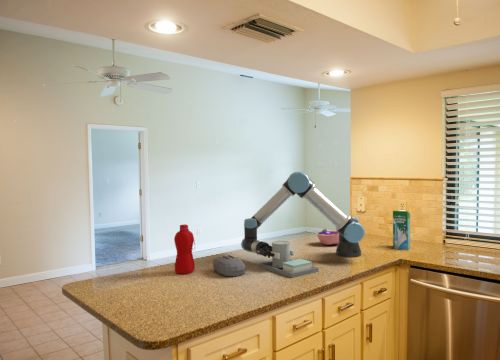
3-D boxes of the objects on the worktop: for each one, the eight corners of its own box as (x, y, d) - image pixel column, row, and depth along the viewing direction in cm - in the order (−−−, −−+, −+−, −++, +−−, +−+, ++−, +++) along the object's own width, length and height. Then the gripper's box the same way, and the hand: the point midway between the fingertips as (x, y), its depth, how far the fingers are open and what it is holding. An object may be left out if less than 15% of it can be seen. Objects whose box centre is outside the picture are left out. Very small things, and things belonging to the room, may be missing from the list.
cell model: (347, 247, 256) (347, 230, 255) (318, 247, 256) (317, 230, 255) (342, 242, 272) (341, 226, 272) (314, 242, 273) (313, 227, 272)
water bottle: (191, 275, 192) (190, 226, 192) (172, 273, 196) (171, 225, 195) (199, 270, 201) (198, 223, 200) (181, 269, 205) (180, 223, 204)
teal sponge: (282, 272, 191) (282, 262, 191) (300, 268, 198) (300, 258, 198) (293, 276, 184) (293, 265, 184) (312, 271, 192) (311, 261, 191)
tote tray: (259, 269, 203) (259, 263, 202) (285, 263, 213) (284, 258, 213) (291, 279, 181) (291, 273, 181) (318, 273, 192) (318, 267, 192)
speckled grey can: (278, 268, 195) (277, 244, 195) (268, 264, 204) (268, 241, 203) (293, 266, 200) (293, 243, 199) (283, 262, 208) (283, 240, 208)
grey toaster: (209, 270, 202) (224, 279, 185) (208, 254, 202) (224, 262, 184) (234, 266, 209) (251, 275, 192) (234, 251, 209) (251, 258, 192)
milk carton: (410, 247, 251) (410, 209, 250) (407, 249, 243) (407, 211, 243) (395, 246, 256) (395, 209, 255) (393, 248, 248) (392, 210, 247)
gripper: (275, 251, 223) (302, 258, 204) (244, 257, 210) (270, 265, 191) (275, 239, 222) (302, 244, 204) (244, 243, 210) (269, 250, 191)
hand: (286, 254), depth 198 cm, fingers closed on speckled grey can, 9 cm apart
